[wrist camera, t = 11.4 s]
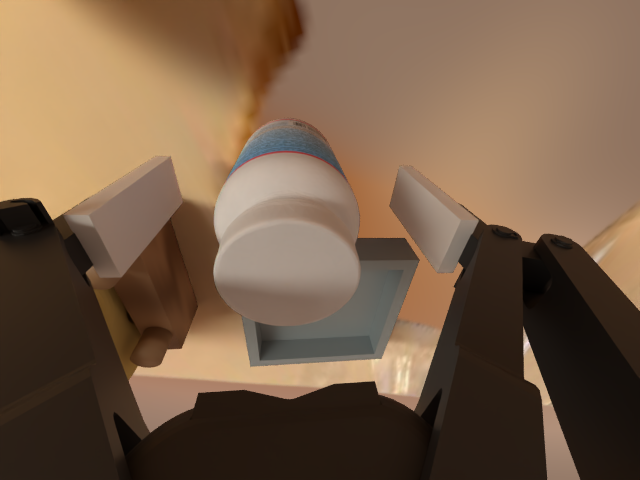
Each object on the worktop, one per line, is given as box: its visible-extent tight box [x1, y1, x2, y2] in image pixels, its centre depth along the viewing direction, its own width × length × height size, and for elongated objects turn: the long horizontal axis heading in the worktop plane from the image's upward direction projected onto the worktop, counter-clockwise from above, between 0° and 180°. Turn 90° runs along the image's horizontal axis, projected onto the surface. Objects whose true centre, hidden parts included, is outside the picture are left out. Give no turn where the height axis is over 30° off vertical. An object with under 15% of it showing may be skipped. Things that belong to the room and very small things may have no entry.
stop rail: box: [86, 219, 198, 367], centre depth 18 cm, size 12×2×6 cm, turn 176°
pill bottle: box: [213, 118, 361, 326], centre depth 12 cm, size 6×6×11 cm
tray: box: [242, 238, 419, 366], centre depth 23 cm, size 14×14×3 cm
